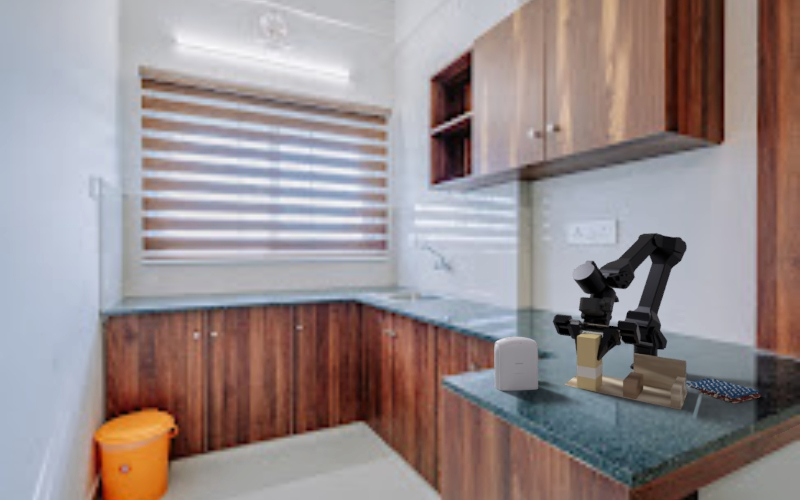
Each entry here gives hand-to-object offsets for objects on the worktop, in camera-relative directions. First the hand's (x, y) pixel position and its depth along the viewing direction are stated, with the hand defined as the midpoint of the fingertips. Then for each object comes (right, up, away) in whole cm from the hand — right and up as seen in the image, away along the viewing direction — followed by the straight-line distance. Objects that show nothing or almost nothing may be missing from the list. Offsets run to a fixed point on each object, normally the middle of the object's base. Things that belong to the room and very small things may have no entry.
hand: (587, 357), depth 93 cm
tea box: (+1, -7, +1) cm, 7 cm away
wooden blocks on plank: (+9, -8, 0) cm, 11 cm away
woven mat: (+30, -8, -1) cm, 32 cm away
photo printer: (-17, -8, 0) cm, 18 cm away
